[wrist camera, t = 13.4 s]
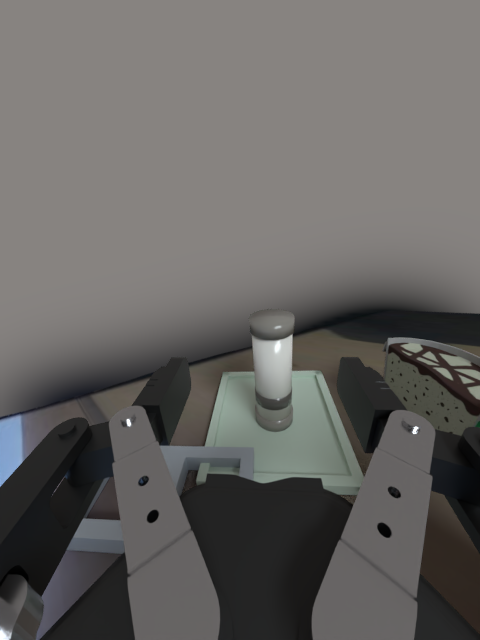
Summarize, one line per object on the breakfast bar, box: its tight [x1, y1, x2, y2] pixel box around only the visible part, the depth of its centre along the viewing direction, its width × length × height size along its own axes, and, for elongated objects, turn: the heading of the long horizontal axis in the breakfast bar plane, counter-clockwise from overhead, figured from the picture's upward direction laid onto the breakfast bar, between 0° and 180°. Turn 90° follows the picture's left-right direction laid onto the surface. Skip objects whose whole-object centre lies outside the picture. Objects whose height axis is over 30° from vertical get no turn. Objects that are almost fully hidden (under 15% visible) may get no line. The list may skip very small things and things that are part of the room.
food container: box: [382, 338, 480, 436], centre depth 25 cm, size 12×6×10 cm, turn 6°
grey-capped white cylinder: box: [249, 309, 294, 432], centre depth 28 cm, size 5×5×14 cm
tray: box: [196, 371, 364, 495], centre depth 31 cm, size 16×18×1 cm
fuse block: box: [67, 446, 254, 554], centre depth 22 cm, size 17×8×2 cm, turn 85°
